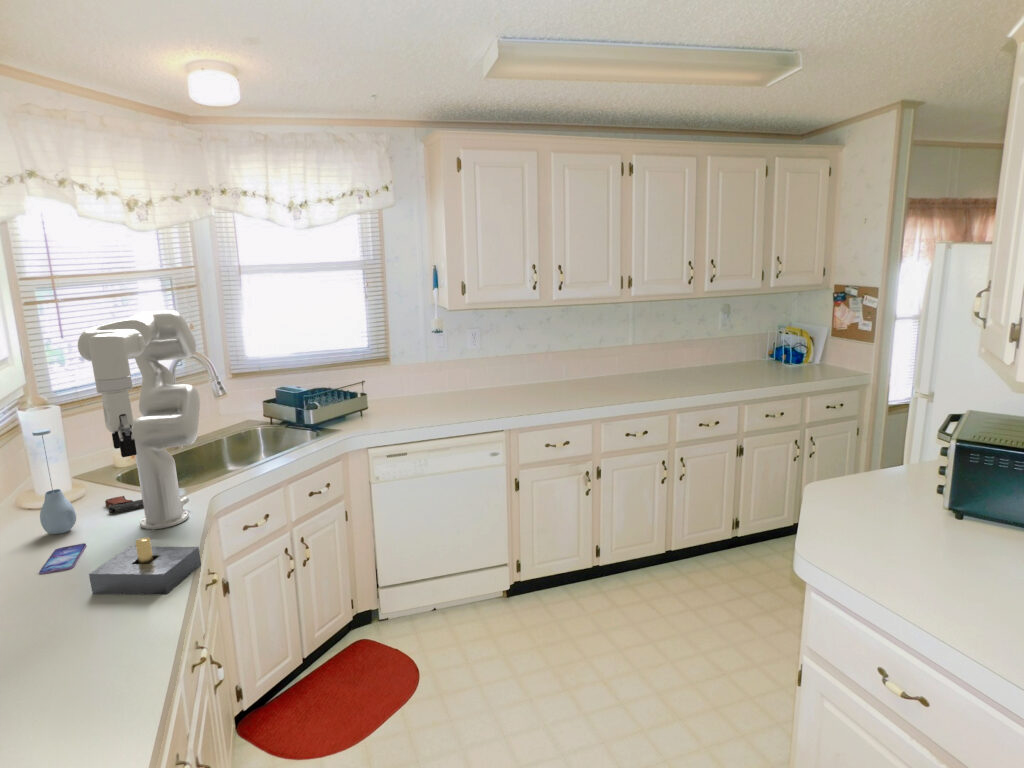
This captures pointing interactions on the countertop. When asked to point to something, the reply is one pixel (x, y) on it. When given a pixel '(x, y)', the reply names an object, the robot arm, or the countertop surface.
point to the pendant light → (55, 506)
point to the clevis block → (145, 571)
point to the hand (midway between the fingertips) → (125, 451)
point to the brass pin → (144, 550)
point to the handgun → (122, 504)
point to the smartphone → (63, 559)
